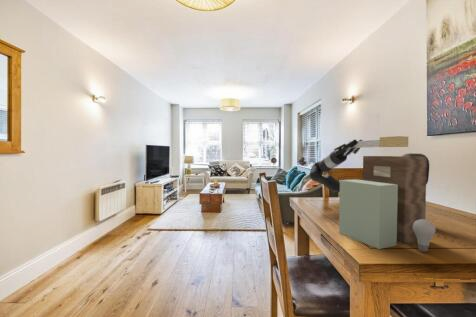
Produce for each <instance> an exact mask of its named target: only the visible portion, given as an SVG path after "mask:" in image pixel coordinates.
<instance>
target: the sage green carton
mask: <svg viewBox="0 0 476 317" xmlns="http://www.w3.org/2000/svg"><path fill="white" fill-rule="evenodd" d="M339 182H340V192H339V201H338V202H339V204H338V205H339V209H338V210H339V212H338V214H339V215H338V217H339V218H338V233H339V234H341V235H344V236H346V237H348V238H351V239H353V240H356V241H358V242H360V243H363V244H366V245H368V246H370V247H373V248H375V249H378V250H381V249H386V248H391V247H395V246H397V245H398V244H397V201H398V185H397V184H389V183H381V182H373V181H365V180H363V179H357V178H355V179H353V178H352V179H340V180H339Z"/></svg>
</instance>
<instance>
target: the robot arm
mask: <svg viewBox="0 0 476 317" xmlns="http://www.w3.org/2000/svg"><path fill="white" fill-rule="evenodd" d="M351 141H352V142H350V143H349V142H348V143H343V144H342V145H339V146H338V147H335V148H333V151H331V152H330V153H329V154H327V155H326V156H325V158H323V159H322V160H319V161H318V162H314V164H313V165H312V166H311V169H310V172H309V176H308V177H309V178H310V179H311V180H312V181H313V182H316V183H319V184H321V185H323V186H324V187H326V188H327V189H328V190H330V191H331V192H335V193H340V180H338V179H337V178H335V177H334V176H333V175H331V174H329V173H327V172H329V171H331V170H333V169H334V168H336V167H338V166H340V165H341V164H342V163H344V162H346V161H347V158H348V156H350V155H351V154H354V155H356V154H358V152H359V151H360V149H361V148H351V147H353V146H354V145H356V144H357V141H363V139H359V140H357V139H353V140H351ZM401 156H410V157H427V156H426V155H425V154H422V153H415V152H414V153H411V152H410V153H405V154H402V155H401ZM324 173H326V174H324ZM323 174H324V175H323ZM429 174H430V160H429V157H427V167H426V185H428V182H429ZM425 220H427V207H426V208H425Z"/></svg>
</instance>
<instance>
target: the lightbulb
mask: <svg viewBox="0 0 476 317" xmlns="http://www.w3.org/2000/svg"><path fill="white" fill-rule="evenodd" d="M412 228H413V231H414V233H415V234H416V237H417V241H416V242H417V244H418V246H417V247H418V250H419V251H421V252H422V253H426V252H428V251H429V246H430V242H431V240H432V238H433V237H434V236H435V234H436V226H435V225H434V224H433V222H431V221H430V220H428V219H426V220H425V219H419V220H416V221H415V222H414V223H413V226H412Z"/></svg>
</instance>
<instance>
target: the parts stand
mask: <svg viewBox="0 0 476 317" xmlns="http://www.w3.org/2000/svg"><path fill="white" fill-rule="evenodd" d="M427 158H428V157H427V156H426V157H410V156H402V155H401V156H400V155H399V156H398V155H397V156H395V155H394V156H393V155H364V156H362V160H363V161H362V180H365V181H373V182H381V183H389V184H397V185H398V201H397V242H398V243H400V244H403V245H405V244H410V243H414V242H415V243H416V242H418V241H417V237H416V234H415V233H414V231H413V228H412V226H413V223H414V222H415V221H416V220H419V219H425V208H426V209H427V204H426V201H427V200H426V199H427V184H426V167H427Z"/></svg>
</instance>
